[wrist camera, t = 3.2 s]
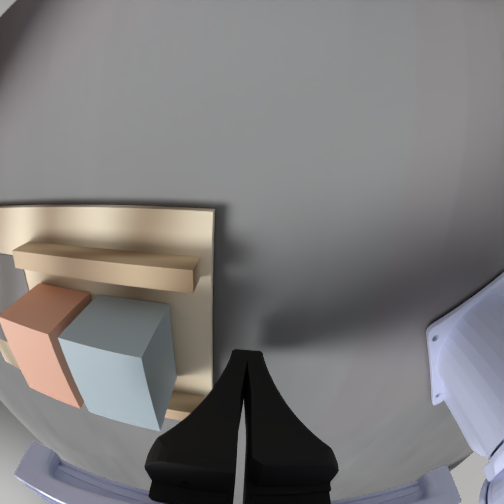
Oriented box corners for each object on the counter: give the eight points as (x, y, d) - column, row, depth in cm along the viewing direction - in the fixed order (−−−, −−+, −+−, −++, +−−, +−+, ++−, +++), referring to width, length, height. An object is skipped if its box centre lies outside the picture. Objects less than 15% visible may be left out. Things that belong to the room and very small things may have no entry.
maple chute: (215, 208, 12) (206, 220, 10) (214, 416, 17) (210, 440, 15) (-33, 207, 12) (-52, 215, 10) (9, 357, 16) (-3, 370, 14)
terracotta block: (89, 292, 13) (47, 334, 9) (107, 363, 14) (80, 408, 11) (39, 283, 13) (-3, 316, 9) (59, 349, 14) (29, 387, 11)
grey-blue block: (169, 304, 13) (141, 358, 9) (177, 377, 14) (160, 431, 11) (98, 294, 13) (57, 337, 9) (115, 365, 14) (89, 411, 11)
